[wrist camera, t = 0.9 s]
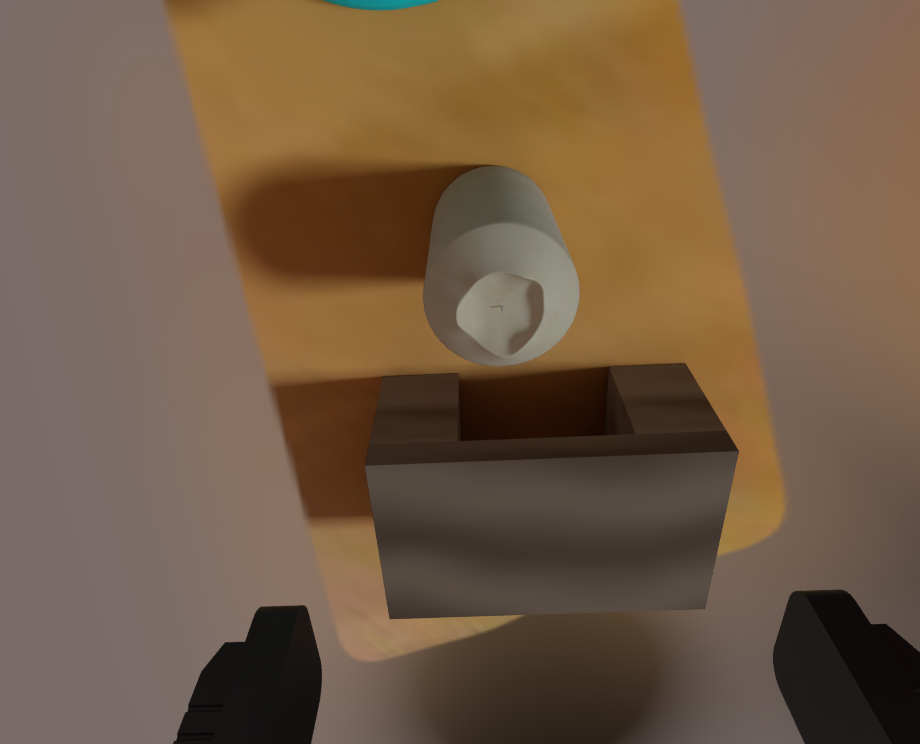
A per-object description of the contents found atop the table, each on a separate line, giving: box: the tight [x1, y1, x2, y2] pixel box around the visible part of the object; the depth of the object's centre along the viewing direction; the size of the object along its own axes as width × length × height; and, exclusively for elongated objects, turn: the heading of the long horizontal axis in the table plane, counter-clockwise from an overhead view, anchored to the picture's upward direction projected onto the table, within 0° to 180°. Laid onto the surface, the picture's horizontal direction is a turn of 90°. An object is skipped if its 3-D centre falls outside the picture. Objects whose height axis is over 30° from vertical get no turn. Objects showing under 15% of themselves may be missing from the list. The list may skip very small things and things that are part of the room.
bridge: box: [365, 364, 739, 619], centre depth 33 cm, size 10×16×8 cm, turn 93°
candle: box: [423, 166, 580, 366], centre depth 25 cm, size 6×6×10 cm
